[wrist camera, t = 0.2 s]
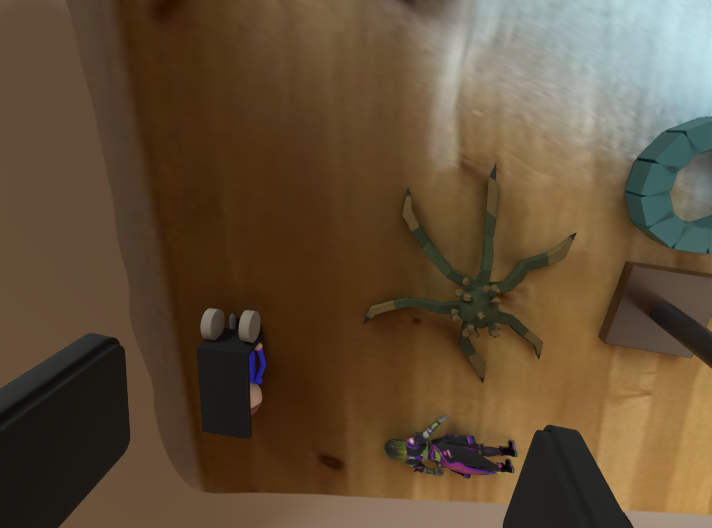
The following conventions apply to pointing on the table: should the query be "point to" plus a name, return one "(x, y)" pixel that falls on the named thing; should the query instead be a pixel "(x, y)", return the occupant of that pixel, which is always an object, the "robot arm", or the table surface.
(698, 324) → the stand
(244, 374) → the figurine character
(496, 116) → the table surface
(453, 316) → the octopus toy
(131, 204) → the table surface
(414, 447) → the character figure
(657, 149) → the ring
